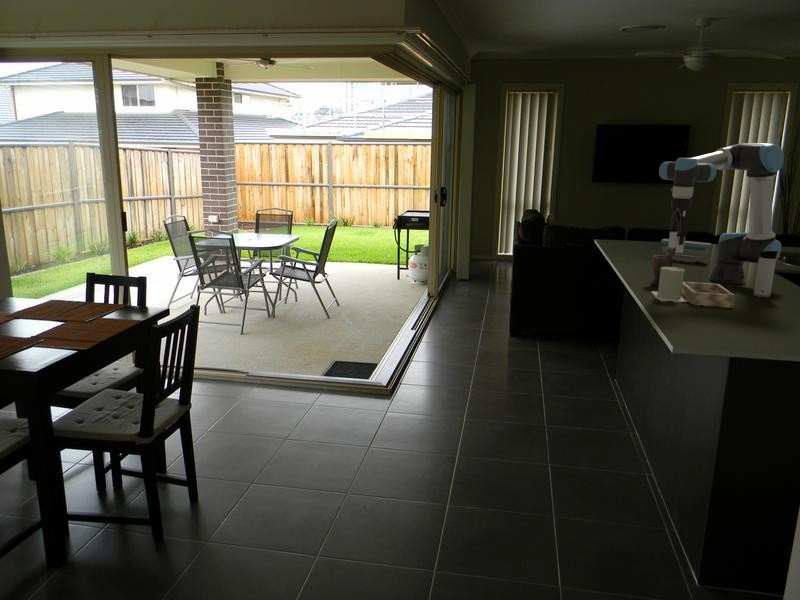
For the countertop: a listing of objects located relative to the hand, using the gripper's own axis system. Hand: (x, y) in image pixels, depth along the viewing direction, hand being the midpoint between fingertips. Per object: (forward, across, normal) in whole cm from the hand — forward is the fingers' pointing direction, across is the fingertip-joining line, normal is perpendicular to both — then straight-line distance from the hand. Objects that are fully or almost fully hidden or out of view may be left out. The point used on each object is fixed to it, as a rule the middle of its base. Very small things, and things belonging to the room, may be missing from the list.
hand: (675, 250), depth 264 cm
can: (+19, 0, 0) cm, 19 cm away
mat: (+20, 0, 0) cm, 20 cm away
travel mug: (+21, -16, +41) cm, 48 cm away
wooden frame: (+20, 0, +14) cm, 24 cm away
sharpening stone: (+21, -104, +29) cm, 110 cm away
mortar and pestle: (+20, -26, +3) cm, 33 cm away
